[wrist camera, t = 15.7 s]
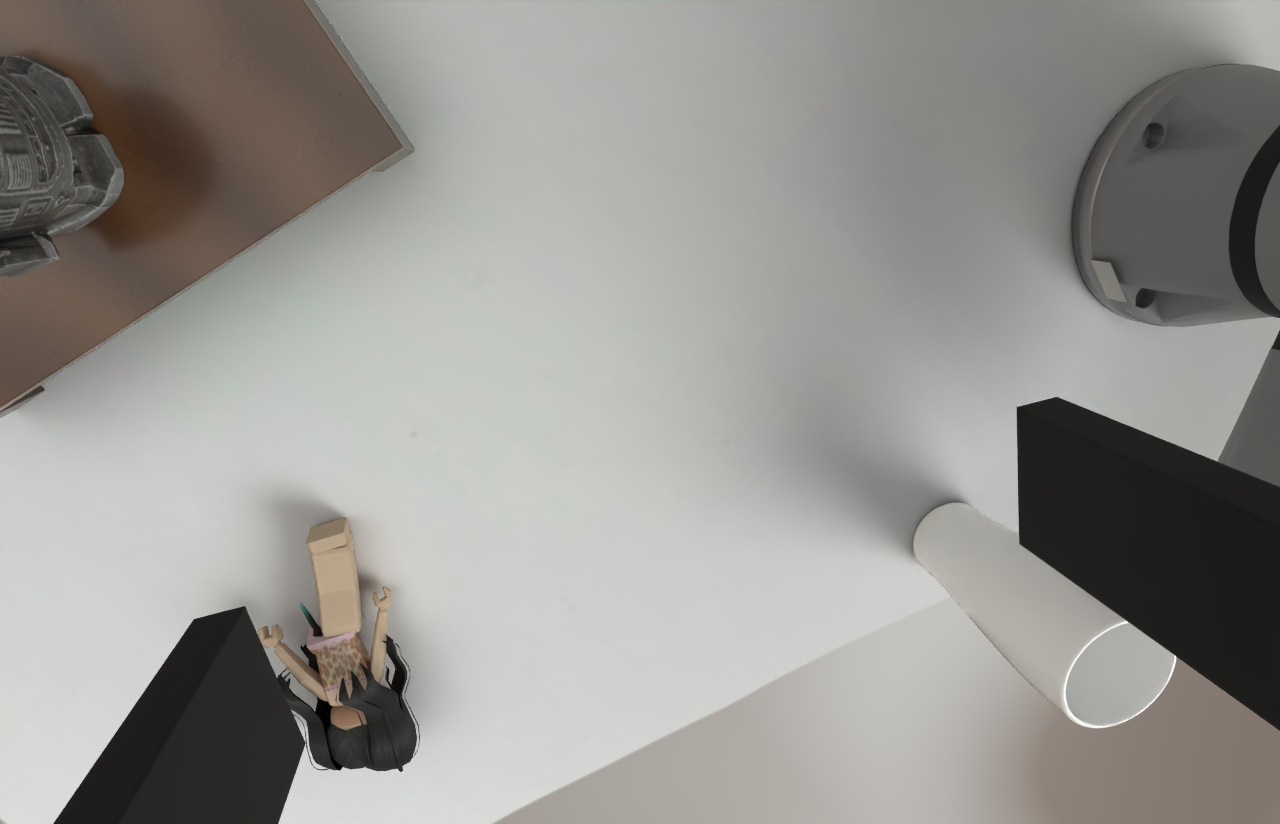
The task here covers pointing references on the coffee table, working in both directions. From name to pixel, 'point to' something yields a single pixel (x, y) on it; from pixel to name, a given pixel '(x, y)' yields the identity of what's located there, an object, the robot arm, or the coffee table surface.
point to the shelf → (183, 155)
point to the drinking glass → (1042, 619)
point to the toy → (47, 164)
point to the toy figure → (346, 667)
